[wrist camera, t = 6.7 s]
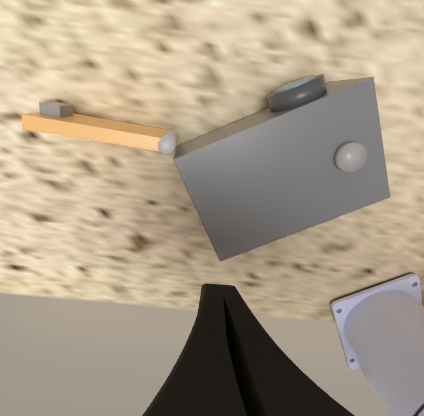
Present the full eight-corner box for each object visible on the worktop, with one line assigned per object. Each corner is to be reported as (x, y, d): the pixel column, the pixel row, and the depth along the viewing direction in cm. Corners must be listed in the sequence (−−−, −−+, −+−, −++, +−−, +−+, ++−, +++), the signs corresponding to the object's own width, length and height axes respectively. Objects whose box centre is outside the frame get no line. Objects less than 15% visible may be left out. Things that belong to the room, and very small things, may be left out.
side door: (59, 123, 17) (22, 131, 14) (58, 100, 17) (19, 101, 13) (177, 143, 18) (173, 155, 15) (179, 122, 18) (176, 129, 14)
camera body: (349, 176, 20) (395, 200, 16) (213, 229, 21) (219, 266, 17) (327, 64, 17) (376, 53, 13) (169, 131, 18) (162, 143, 14)
